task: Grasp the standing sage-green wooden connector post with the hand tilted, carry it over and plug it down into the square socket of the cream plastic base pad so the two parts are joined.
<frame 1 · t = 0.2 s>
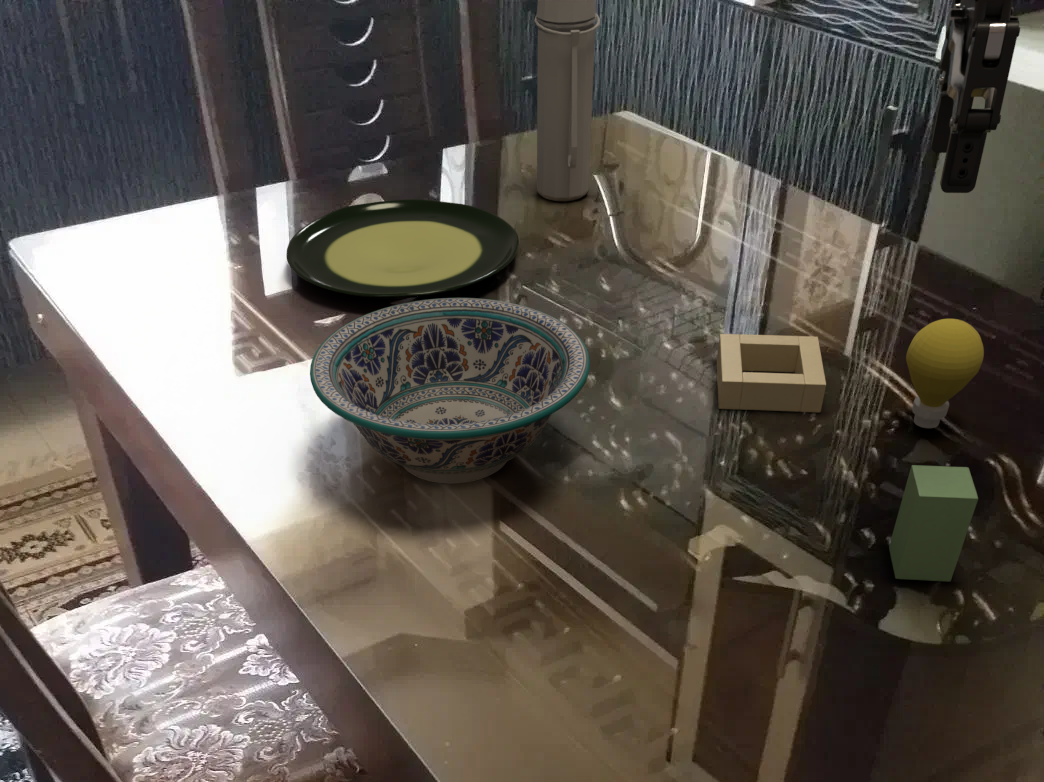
hand: (950, 170, 81), 28 cm above the table, tool pointing down, fingers open, 8 cm apart
connector post: (919, 564, 95), on the table
socket pad: (766, 385, 116), on the table
plate: (403, 264, 139), on the table
water bottle: (564, 197, 153), on the table
light bulb: (925, 423, 111), on the table
bowl: (454, 455, 109), on the table
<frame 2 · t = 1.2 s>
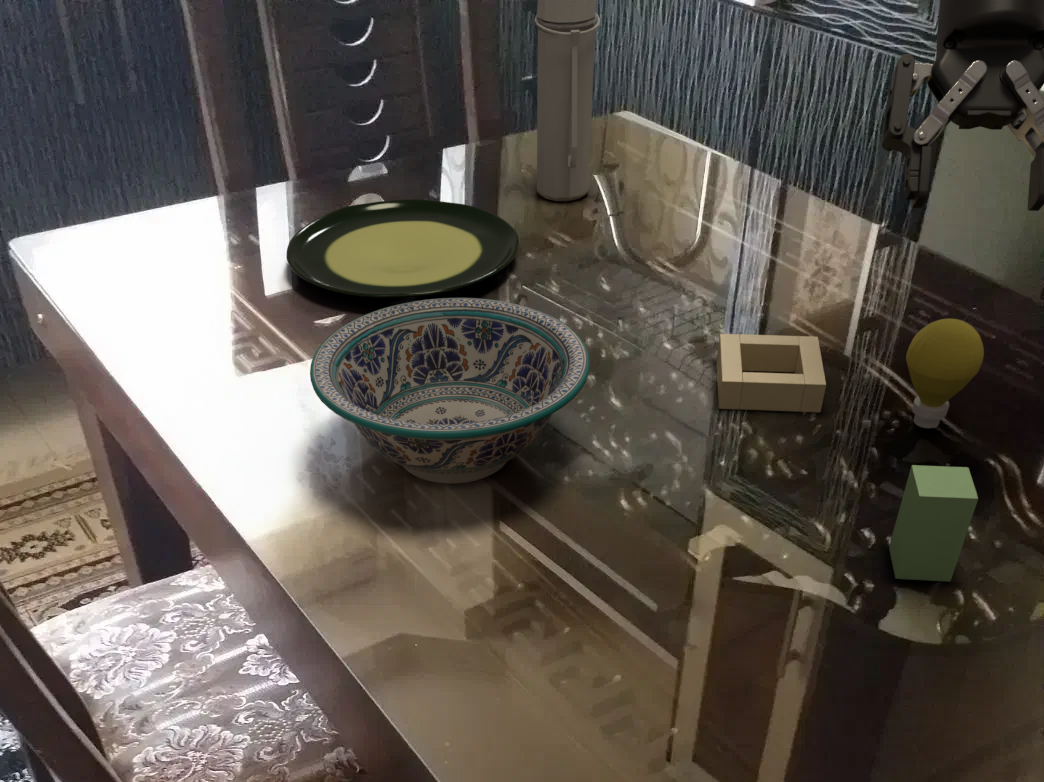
hand: (978, 205, 86), 25 cm above the table, tool tilted 45°, fingers open, 8 cm apart
nothing on the table moved.
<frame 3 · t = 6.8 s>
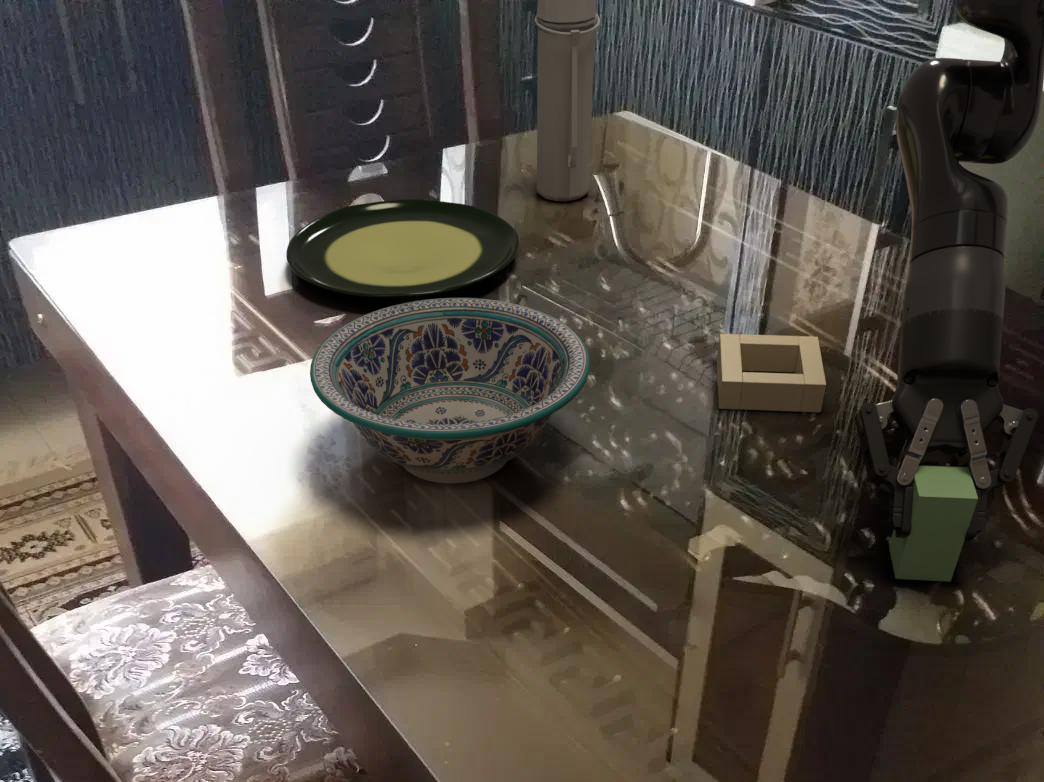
hand: (935, 536, 91), 4 cm above the table, tool tilted 45°, fingers closed on connector post, 4 cm apart
connector post: (919, 564, 95), on the table, touching gripper
everything else where it was.
when the fingers open (4 cm above the table, at t = 17.2 s): connector post stays where it is, resting in socket pad.
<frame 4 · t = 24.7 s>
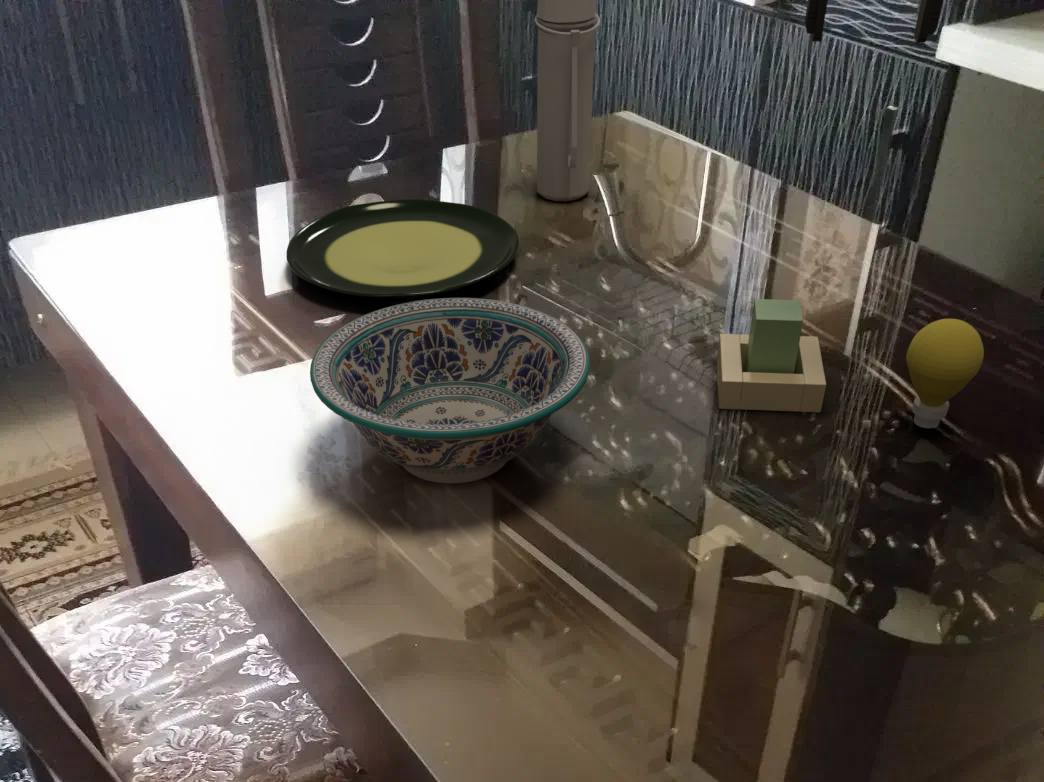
hand: (867, 39, 96), 30 cm above the table, tool pointing down, fingers open, 8 cm apart
connector post: (766, 385, 116), resting in socket pad
everything else where it was.
at the end: connector post 0.1 cm off-centre in the socket pad, point 0.0 cm above the socket pad's base; connector post tilted 0°; the gripper is holding nothing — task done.
